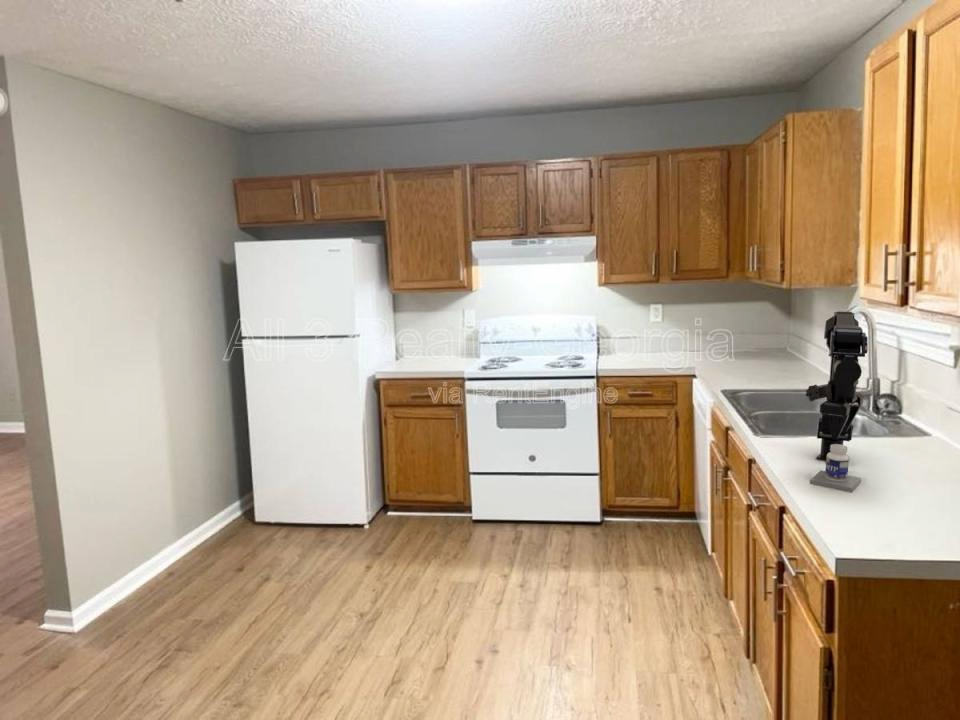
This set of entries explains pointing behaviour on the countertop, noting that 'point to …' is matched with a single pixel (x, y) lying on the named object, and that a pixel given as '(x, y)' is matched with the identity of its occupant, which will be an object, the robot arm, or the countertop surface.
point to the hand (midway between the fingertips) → (839, 435)
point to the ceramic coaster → (835, 482)
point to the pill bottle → (837, 463)
